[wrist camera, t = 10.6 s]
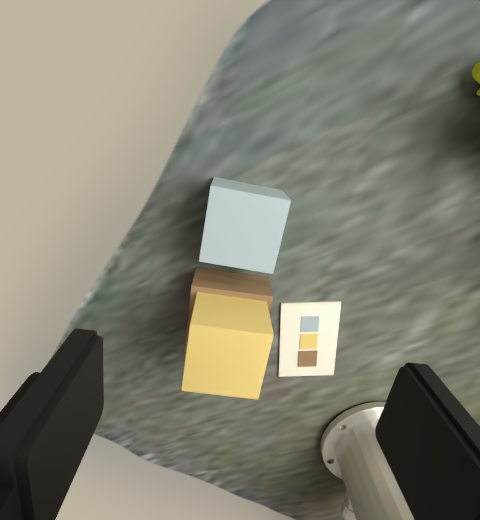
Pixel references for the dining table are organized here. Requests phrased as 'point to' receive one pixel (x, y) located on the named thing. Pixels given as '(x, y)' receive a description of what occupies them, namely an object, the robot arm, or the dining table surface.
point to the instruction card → (308, 338)
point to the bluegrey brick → (243, 225)
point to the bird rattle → (476, 75)
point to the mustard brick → (227, 346)
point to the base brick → (228, 288)
